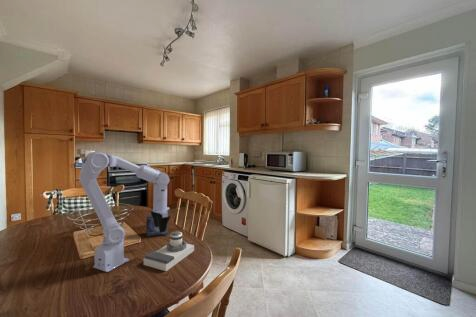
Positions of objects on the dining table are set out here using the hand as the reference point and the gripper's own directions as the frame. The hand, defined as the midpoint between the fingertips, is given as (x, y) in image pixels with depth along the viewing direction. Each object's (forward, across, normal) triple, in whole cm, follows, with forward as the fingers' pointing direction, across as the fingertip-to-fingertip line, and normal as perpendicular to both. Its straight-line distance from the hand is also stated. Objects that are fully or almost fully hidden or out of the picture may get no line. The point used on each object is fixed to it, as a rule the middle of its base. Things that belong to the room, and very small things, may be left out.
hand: (159, 229), depth 96 cm
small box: (+10, +19, -4) cm, 22 cm away
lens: (+7, -7, -5) cm, 11 cm away
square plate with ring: (+9, -9, -2) cm, 13 cm away
